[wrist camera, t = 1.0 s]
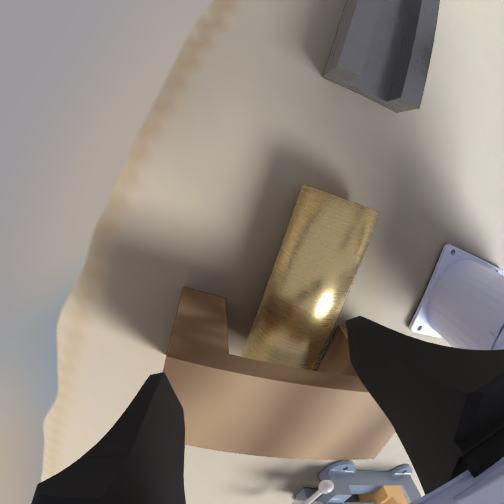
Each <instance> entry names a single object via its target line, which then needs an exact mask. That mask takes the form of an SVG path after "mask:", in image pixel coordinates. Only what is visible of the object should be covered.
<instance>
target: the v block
mask: <svg viewBox="0 0 504 504" xmlns="http://www.w3.org/2000/svg"><path fill="white" fill-rule="evenodd" d="M439 2H440V0H347V2H346V6H345V9H344V12H343V15H342V18H341V21H340V24H339V27H338V31H337V34H336V37H335V40H334V43H333V46H332V49H331V52H330V55H329V59H328V62H327V65H326V68H325V71H324V74H323V78H326V79H328V80H330V81H333V82H335V83H337V84H339V85H342V86H344V87H346V88H348V89H350V90H353V91H355V92H357V93H359V94H361V95H363V96H365V97H367V98H369V99H371V100H373V101H375V102H377V103H379V104H381V105H383V106H385V107H387V108H389V109H391V110H393V111H394V112H396V113H398V112H403V111H408V110H413V109H418V108H420V104H421V99H422V95H423V91H424V87H425V82H426V77H427V73H428V68H429V63H430V58H431V53H432V47H433V42H434V36H435V30H436V24H437V17H438V10H439Z"/></svg>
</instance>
